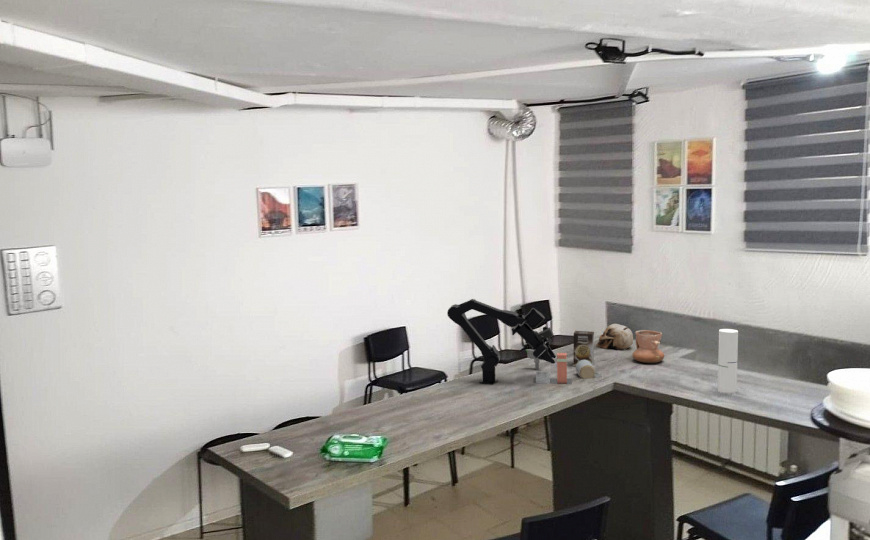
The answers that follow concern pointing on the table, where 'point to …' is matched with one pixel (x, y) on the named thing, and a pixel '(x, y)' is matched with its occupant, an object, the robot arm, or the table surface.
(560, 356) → the salmon pink rectangular block
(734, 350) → the cylindrical container
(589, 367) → the ceramic mug
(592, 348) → the coffee box
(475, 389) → the table surface
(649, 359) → the ceramic jug
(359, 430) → the table surface
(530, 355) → the mechanical component
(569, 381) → the stand base
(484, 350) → the robot arm
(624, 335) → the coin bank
